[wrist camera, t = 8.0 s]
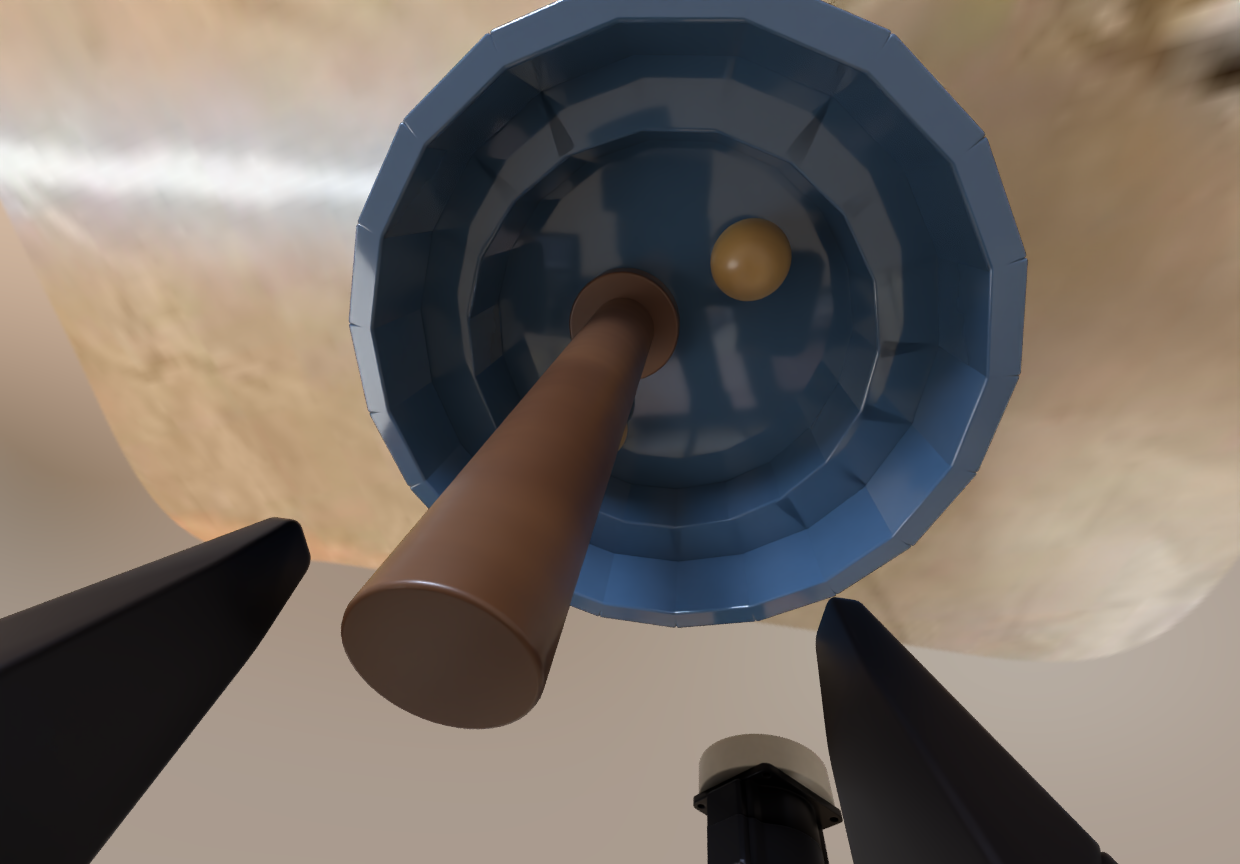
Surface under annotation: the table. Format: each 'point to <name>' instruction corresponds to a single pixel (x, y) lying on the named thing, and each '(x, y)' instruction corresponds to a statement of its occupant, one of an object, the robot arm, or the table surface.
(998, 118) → the table surface
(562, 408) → the pestle
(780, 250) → the chickpea
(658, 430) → the bowl
